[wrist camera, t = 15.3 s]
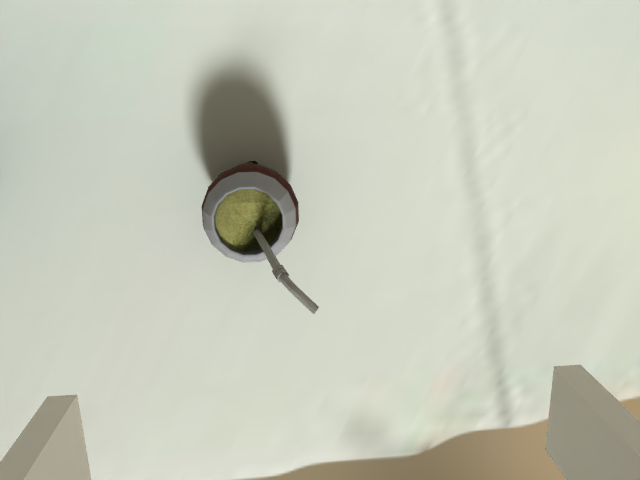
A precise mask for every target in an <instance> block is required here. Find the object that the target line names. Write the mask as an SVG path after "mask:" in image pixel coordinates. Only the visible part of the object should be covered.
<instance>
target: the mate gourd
mask: <svg viewBox="0 0 640 480" xmlns="http://www.w3.org/2000/svg"><path fill="white" fill-rule="evenodd" d="M202 217H203V226H204V230H205V232H206V234H207V236H208V238H209V240H210V242H211V244H212V245H213V246H214V247H216V248H217V249H218V250H219V251H220V252H221V253H222V254H224V255H225V256H226V257H229V258H232V259H235V260H238V261H241V262H261V261H263V260H266V259H268V261H269V263H270V265H271V266H272V268H273V271H272V272H273V274H274V276H275V277H276V279H277V280H278V281H279V282H282V283H283V285H284V286H285V287H286V288H287V289H288V290H289V291H290V292H291V293H292V294H293V295H294V296H295V297H296V298H297V299H298V300H299V301H300V302H301V303H302V304H303V305H304V306H305V307H306V308H308V309H309V310H310V311H311V312H312V313H313V314H314V313H315V312H316V311H317V309H318V308H319V307H318V306H317V305H316V304H315V303H314V302H313V301H312V300H311V299H310V298H309V297H308V296H307V295H305V294H304V293H303V292H302V291H301V290H300V289H299V288H298V287H297V286H296V285H295V284H294V283H293V282H292V281H291V280H290V279H289V277H288V276H289V274H288V273H287V272H286V270H285V269H284V267H283V266H282V265H280V263H279V262H278V260H277V258H276V256H275V255H277V254H278V253H279V252H280V251H281V250H282V249H283V248H284V247H285V246H286V245H287V244H288V243H289V242H290V240H291V239H292V236H293V234H294V232H295V229H296V227H297V224H298V221H299V214H298V201H297V199H296V196H295V194H294V192H293V190H292V187H291V185H290V184H289V183H288V182H287V181H286V180H285V179H284V178H282V177H281V176H280V175H279V174H278V173H277V172H276V171H273V170H271V169H269V168H266V167H264V166H261V165H259V164H258V163H257V162H256V161H250V162H248V163H247V164H242V165H239V166H237V167H235V168H232V169H230V170H228V171H225V172H223V173H221V174H220V175H219V176H218V177H217V179H216V180H215V181H214V182H213V183H212V184H211V185H210V186H209V187H208V190H207V193H206V196H205V198H204V201H203V204H202Z"/></svg>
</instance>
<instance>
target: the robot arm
mask: <svg viewBox="0 0 640 480" xmlns="http://www.w3.org/2000/svg"><path fill="white" fill-rule="evenodd" d="M545 450H546V451H547V453H548V454H549V456H550V457H551V458H552V460H553V461H554V463H555V464H556V465H557V467H558V468H559V469H560V471H561V472H562V474H563V475H564V476H565V478H566V479H567V480H640V421H639V420H638V419H637V418H636V417H635V416H634V415H632V414H631V412H629V411H628V410H627V409H626V408H625V407H624V406H623V405H622V404H621V403H620V402H619V401H618V400H617V399H616V398H615V397H614V396H613V395H612V394H611V393H610V392H608V391H607V390H606V389H605V388H604V387H603V386H602V385H601V384H600V383H599V382H598V381H597V380H596V379H595V378H594V377H593V376H592V375H591V374H590V373H588V372H587V371H586V370H585V369H584V368H583V367H582V366H581V365H569V366H554V372H553V382H552V391H551V400H550V410H549V419H548V429H547V438H546V448H545ZM0 480H91V475H90V469H89V463H88V457H87V451H86V445H85V439H84V433H83V427H82V421H81V415H80V409H79V403H78V397H77V395H67V396H50V397H47V398H46V400H45V401H44V402H43V404H42V405H41V406H40V408H39V409H38V411H37V412H36V413H35V415H34V416H33V418H32V419H31V420H30V422H29V423H28V425H27V426H26V427H25V429H24V430H23V431H22V433H21V434H20V436H19V437H18V438H17V440H16V441H15V443H14V444H13V445H12V447H11V448H10V450H9V451H8V452H7V454H6V455H5V457H4V458H3V459H2V461H1V462H0Z"/></svg>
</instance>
